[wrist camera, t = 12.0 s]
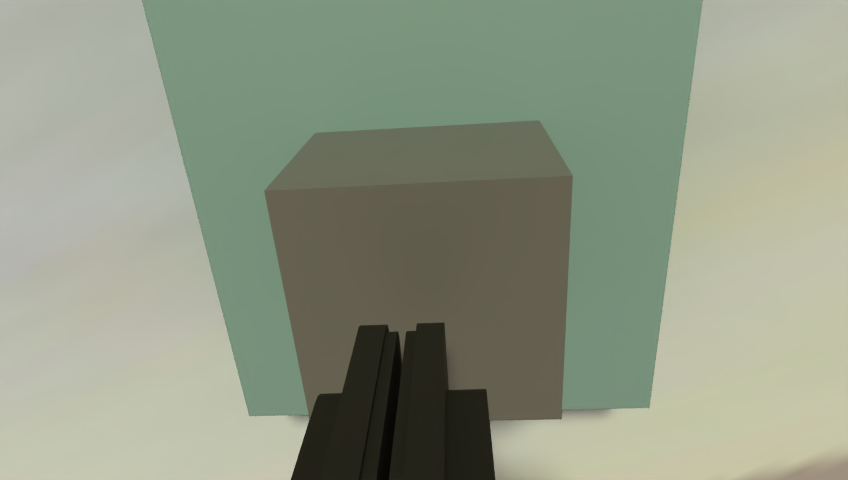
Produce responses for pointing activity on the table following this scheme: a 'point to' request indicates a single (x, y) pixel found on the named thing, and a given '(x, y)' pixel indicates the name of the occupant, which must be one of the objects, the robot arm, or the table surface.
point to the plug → (431, 254)
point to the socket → (439, 106)
